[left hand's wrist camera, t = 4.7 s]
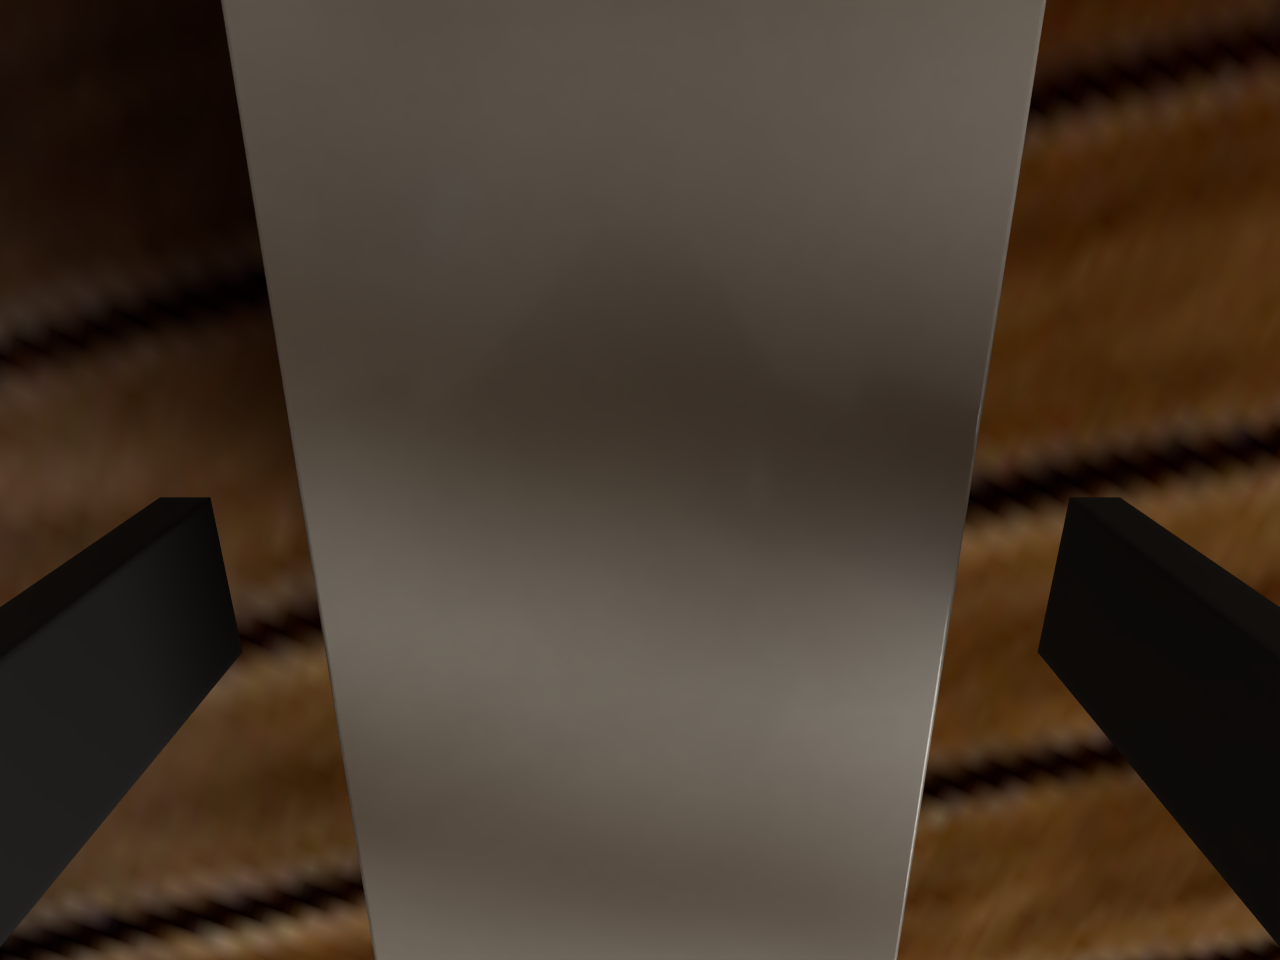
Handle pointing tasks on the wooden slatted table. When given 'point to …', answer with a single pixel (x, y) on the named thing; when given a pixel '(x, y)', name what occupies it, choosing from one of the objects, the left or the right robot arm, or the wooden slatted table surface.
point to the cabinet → (634, 443)
